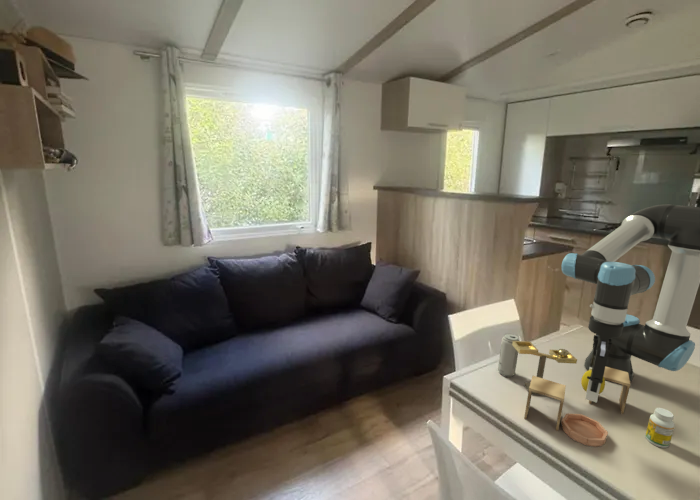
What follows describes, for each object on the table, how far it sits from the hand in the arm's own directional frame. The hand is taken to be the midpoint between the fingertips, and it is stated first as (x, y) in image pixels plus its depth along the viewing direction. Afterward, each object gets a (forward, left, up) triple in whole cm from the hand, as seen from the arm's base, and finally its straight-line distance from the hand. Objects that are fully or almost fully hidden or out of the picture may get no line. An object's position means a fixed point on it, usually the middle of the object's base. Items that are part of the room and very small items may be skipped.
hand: (591, 394), depth 103 cm
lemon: (0, 0, -1) cm, 1 cm away
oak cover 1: (+9, -6, -13) cm, 17 cm away
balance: (+4, -20, -13) cm, 24 cm away
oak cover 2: (-16, -15, -13) cm, 26 cm away
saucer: (0, 0, -13) cm, 13 cm away
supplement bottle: (-20, +2, -13) cm, 24 cm away
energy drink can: (+11, -30, -13) cm, 35 cm away
